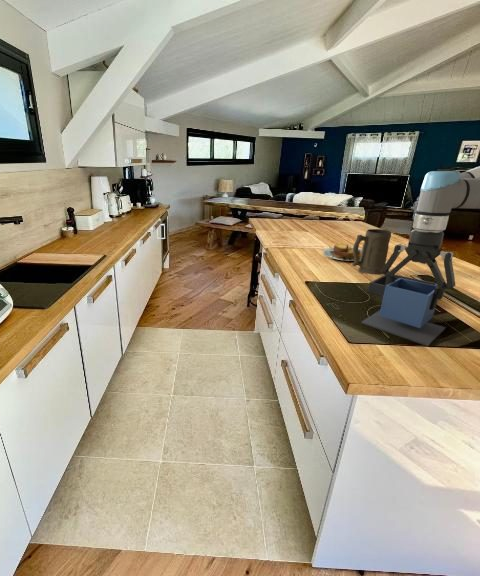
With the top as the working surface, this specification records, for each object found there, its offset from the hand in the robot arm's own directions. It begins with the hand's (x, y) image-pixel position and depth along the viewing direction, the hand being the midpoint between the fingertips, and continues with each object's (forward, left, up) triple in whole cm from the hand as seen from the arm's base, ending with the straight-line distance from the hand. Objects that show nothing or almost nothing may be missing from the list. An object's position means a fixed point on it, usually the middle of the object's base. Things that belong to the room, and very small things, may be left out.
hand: (409, 302), depth 95 cm
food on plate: (+50, -65, -8) cm, 82 cm away
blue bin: (0, 0, -5) cm, 5 cm away
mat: (0, 0, -8) cm, 8 cm away
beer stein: (+31, -45, -8) cm, 55 cm away
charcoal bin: (+10, -27, -8) cm, 30 cm away
